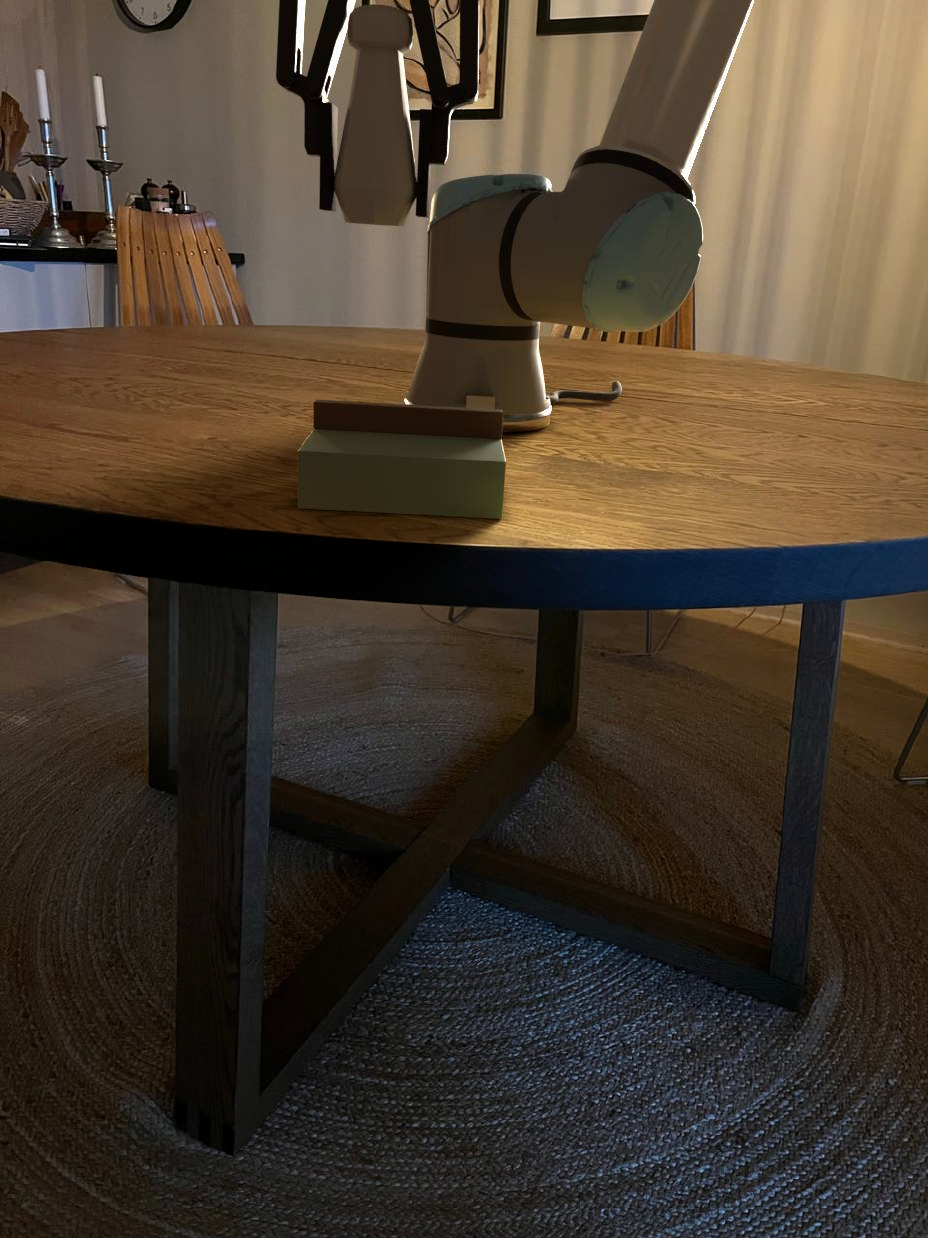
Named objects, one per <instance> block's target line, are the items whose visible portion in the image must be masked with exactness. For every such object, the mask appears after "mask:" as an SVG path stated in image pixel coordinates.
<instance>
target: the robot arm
mask: <svg viewBox="0 0 928 1238" xmlns="http://www.w3.org/2000/svg"><path fill="white" fill-rule="evenodd" d="M356 1H357V0H327V2H326V7H325V10H324V13H323V18H322V19H321V20H322V21H321V24H320V28H319V31H318V34H317V38H316V42H315V46H314V48H313V53H312V56H311V60H310V63H309V68H308V70H307V74H306V75H304V74H302V68H303V54H304V53H303V52H304V51H303V50H304V32H305V14H306V0H279V1H278V21H277V22H278V23H277V43H276V62H275V63H276V68H275V79H276V82H277V84H278V85H279V86H280V87H281V88H283V89H284V90H286V91H287V92H288V93H291V94H293V95H295V96H297V97H300V98H301V100H302V101H303V104H304V105H303V107H304V127H303V128H304V130H303V133H304V137H303V141H304V142H303V146H304V149H305V152H306V155H308V156H310V157H316V158H317V157H318V158H319V197H318V199H319V200H318V201H319V202H318V203H319V204H318V205H319V207H318V210H321V211H324V212H325V211H326V212H337V196H336V194H335V192H334V185H333V181H334V176H335V170H336V165H337V160H338V128H339V127H338V124H339V123H338V121H339V119H338V118H339V117H338V116H339V107H337V106H336V104H335V103H333V102H329V99H328V98H329V97H328V96H329V93H330V90H331V87H332V82H333V79H334V76H335V73H336V69H337V65H338V63H339V59H340V55H341V52H342V48H343V45H344V41H345V38H346V34H347V24H348V19H349V14H350V13H351V12H352V11H353V10H354V8H355V3H356ZM408 1H409V6H410V11H411V15H412V18H413V19H412V20H413V24H414V28H415V32H416V36H417V41H418V45H419V50H420V55H421V59H422V65H423V69H424V73H425V77H426V81H427V86H428V91H429V97H430V101H431V108H430V109H429V108H419V122H418V123H419V125H418V126H419V127H418V144H417V145H418V146H417V147H418V149H417V152H418V153H417V171H416V179H417V193H416V199H415V217H418V218H429V223H428V225H427V230H426V233H427V257H426V289H425V290H426V292H425V327H424V328H425V329H424V330H425V331H424V342H423V345H422V348H421V351H420V353H419V356H418V360H417V362H416V366H415V370H414V372H413V376H412V379H411V383H410V387H408V388H407V390H406V393H405V397H404V404H405V405H423V406H441V407H459V408H477V409H495V410H503V425H502V433H507V432H508V433H511V432H512V433H513V432H526V431H527V432H529V431H535V430H539V429H543V428H546V427H548V426H549V425H551V414H552V413H551V412H552V405H555V404H557V403H558V402H559V400H562V399H564V400H565V399H567V400H568V399H571V400H582V401H583V400H586V401H594V402H595V401H597V402H608V401H615V400H617V399H618V398H619V397H620V396H621V394H622V392H623V386H622V384H621V382H620V381H619V380H614V381H613V382H612V383H611V391H610V392H592V391H581V390H579V391H578V390H555V391H553V392H552V393H550V395H548V394H546V384H545V377H544V376H545V375H544V371H543V365H542V360H541V353H540V348H539V344H540V329H541V323H547V324H554V325H555V324H556V325H564V326H570V327H578V328H584V329H585V328H586V329H593V330H594V329H595V330H597V331H601V332H604V333H620V332H633V333H643V332H649V331H652V330H653V329H655V328H657V327H659V326H661V325H663V324H665V323H666V322H667V321H669V320H670V319H671V318H672V317H673V316H674V315H675V314H676V313H677V312H678V310H679V309H680V307H682V305H683V304H684V302H685V300H686V299H687V298H688V295H689V293H690V292H691V289H692V287H693V285H694V282H695V280H696V277H697V275H698V271H699V269H700V264H701V259H702V255H700V254H699V251H700V248H701V247H702V246H703V243H704V229H703V223H702V218H701V215H700V213H699V211H698V209H697V207H696V206H695V204H696V194H695V191H694V189H693V187H692V185H691V183H690V181H689V180H688V177H689V174H690V171H691V169H692V166H693V163H694V160H695V158H696V155H697V152H698V151H699V150H698V149H699V147H700V144H701V143H702V139H703V137H704V134H705V130H706V129H707V126H708V123H709V121H710V117H711V115H712V112H713V110H714V107H715V105H716V102H717V99H718V97H719V94H720V92H721V89H722V86H723V84H724V81H725V79H726V76H727V73H728V70H729V68H730V65H731V62H732V60H733V57H734V54H735V53H736V49H737V46H738V44H739V41H740V38H741V36H742V33H743V31H744V28H745V26H746V22H747V20H748V17H749V15H750V12H751V9H752V7H753V4H754V1H755V0H653V2H652V5H651V8H650V11H649V12H648V16H647V18H646V21H645V23H644V26H643V28H642V31H641V33H640V36H639V39H638V41H637V45H636V47H635V50H634V52H633V55H632V58H631V60H630V63H629V65H628V68H627V71H626V74H625V75H624V78H623V81H622V84H621V86H620V89H619V92H618V94H617V97H616V100H615V102H614V105H613V108H612V110H611V112H610V115H609V118H608V120H607V124H606V125H605V129H604V131H603V134H602V136H601V139H600V142H599V144H598V145H596V146H593V147H590V148H588V149H585V150H583V151H582V152H581V153H580V154H579V155H577V157H576V159H575V161H574V163H573V166H572V169H571V171H570V174H569V176H568V179H567V181H566V184H565V187H564V189H563V190H561V191H553V188H552V183H551V181H550V180H549V178H548V177H545V176H543V175H538V174H530V173H503V174H483V175H475V176H467V177H462V178H457V179H453V180H449V181H447V182H444V183H442V184H441V185H439V186H438V188H437V189H436V190H435V191H434V192H433V196H432V199H431V181H432V180H431V178H432V165H438V166H445V165H446V163H447V161H448V158H449V146H450V128H451V127H450V126H451V116H452V114H453V112H454V111H455V110H457V109H459V108H463V107H465V106H468V105H473V104H475V103H476V102H477V100H478V98H479V68H480V67H479V62H480V61H479V59H480V57H479V56H480V51H479V50H480V0H459V80H458V81H459V82H458V83H455V84H452V85H449V86H448V82H447V78H446V72H445V68H444V63H443V58H442V54H441V50H440V45H439V40H438V36H437V31H436V26H435V21H434V16H433V12H432V8H431V7H432V6H431V2H430V0H408ZM430 201H431V205H430Z"/></svg>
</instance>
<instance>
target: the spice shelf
mask: <svg viewBox="0 0 928 1238" xmlns="http://www.w3.org/2000/svg"><path fill="white" fill-rule="evenodd" d="M312 408H313V412H312V413H313V429H312V431H311V432H310V434H309V435H308V436H307V437H306V439H305V440H304V442H303V443H302V444H301V446H300V447H299V448H298V450H297V509H301V510H302V509H304V510H322V511H341V512H361V513H376V514H377V513H378V514H379V513H381V514H396V515H397V514H398V515H417V516H434V517H435V516H436V517H454V518H455V517H456V518H473V519H474V518H475V519H490V520H491V519H493V520H503V512H504V499H505V497H504V496H505V485H506V484H505V483H506V470H507V461H506V460H507V459H506V456H505V451H504V445H503V440H502V437H503V432H502V425H503V410H495V409H477V408H459V407H441V406H423V405H405V403H404V404H403V403H387V402H385V403H384V402H367V401H351V400H350V401H349V400H332V399H331V400H330V399H315V400H314V401H313V407H312Z"/></svg>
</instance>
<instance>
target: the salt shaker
mask: <svg viewBox="0 0 928 1238" xmlns="http://www.w3.org/2000/svg"><path fill="white" fill-rule="evenodd" d="M346 33H347V41H348V45H349V46H350V47H351V48H353V49H354V50H356V54H355V58H354V59H355V60H354V65H353V71H352V77H351V82H350V89H349V94H348V100H347V106H346V111H345V117H344V124H343V129H342V133H341V134H342V135H341V139H340V145H339V151H338V154H337V165H336V170H335V176H334V181H333V185H334V192H335V194H336V200H337V201H338V205H339V208H340V210H341V213H342V216H343V220H344V223H345V224H356V225H357V224H359V225H369V226H370V225H372V226H385V227H405V226H406V224H407V220H408V218H409V216H410V213H411V212H412V209H413V207H414V204H415V203H416V193H417V171H416V162H415V152H414V144H413V143H414V142H413V136H412V135H413V134H412V126H411V117H410V107H409V99H408V89H407V80H406V71H405V62H404V61H405V60H404V54H406V53H409V52H410V51H411V49H412V46H413V38H414V28H413V19H412V17H411V16H410V15H409V14H408V12H407V11H405V10H403V9H401V8H398V7H394V6H392V5H385V4H375V3H374V4H364V5H359V6H357V7H353V11H352V12H351V13H350V14H349V19H348V24H347V31H346Z"/></svg>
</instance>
